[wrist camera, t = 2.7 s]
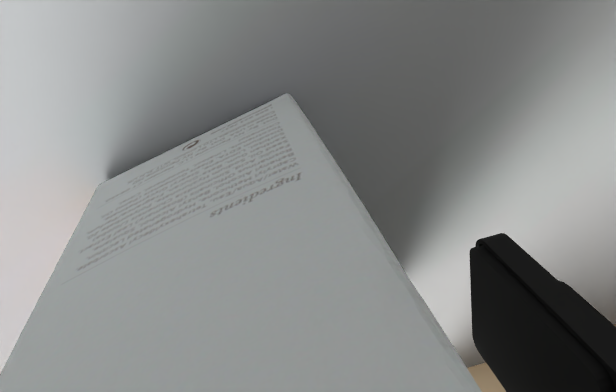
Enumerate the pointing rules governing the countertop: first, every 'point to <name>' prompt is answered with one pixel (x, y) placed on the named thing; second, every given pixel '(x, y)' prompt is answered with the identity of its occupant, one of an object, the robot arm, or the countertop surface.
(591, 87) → the countertop surface
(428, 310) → the small box
